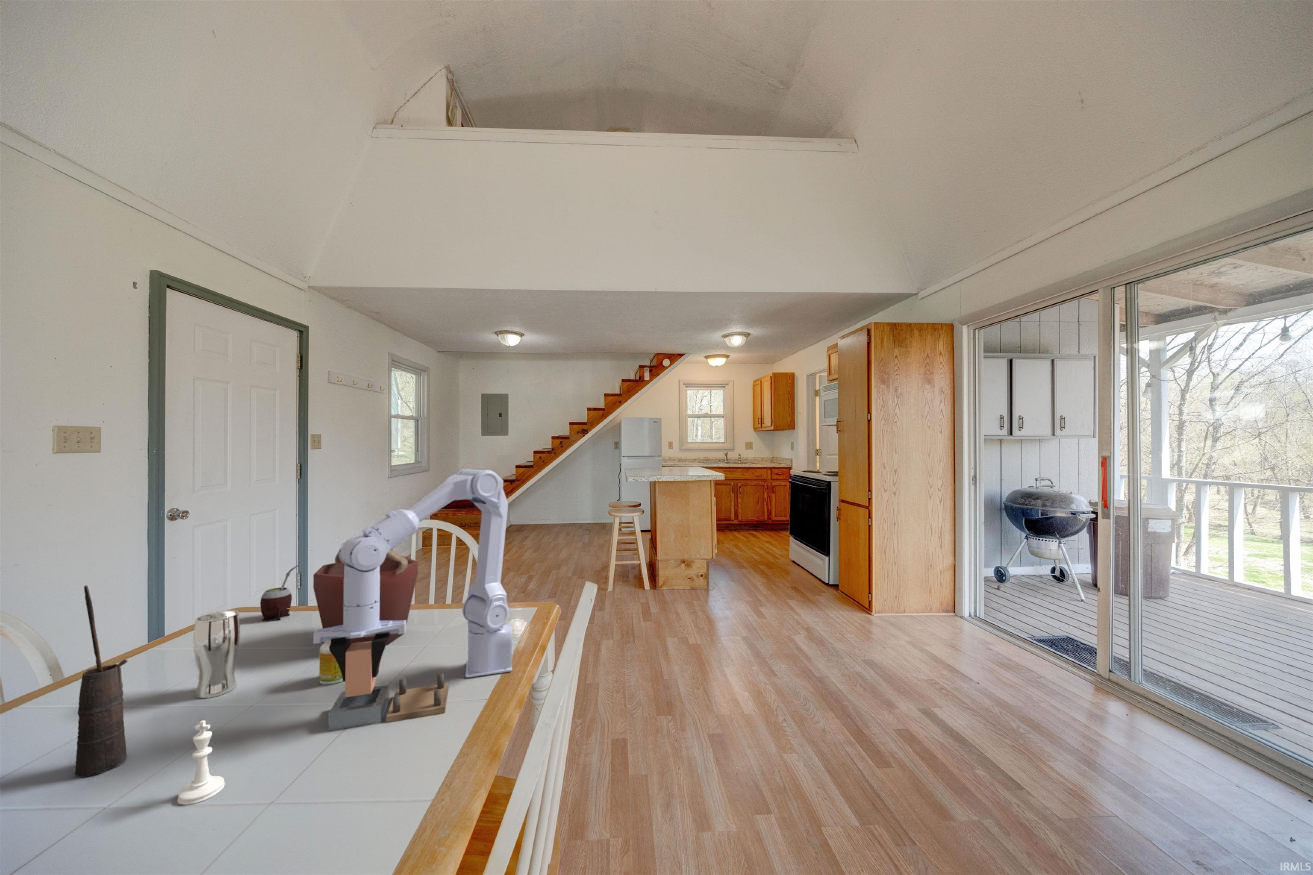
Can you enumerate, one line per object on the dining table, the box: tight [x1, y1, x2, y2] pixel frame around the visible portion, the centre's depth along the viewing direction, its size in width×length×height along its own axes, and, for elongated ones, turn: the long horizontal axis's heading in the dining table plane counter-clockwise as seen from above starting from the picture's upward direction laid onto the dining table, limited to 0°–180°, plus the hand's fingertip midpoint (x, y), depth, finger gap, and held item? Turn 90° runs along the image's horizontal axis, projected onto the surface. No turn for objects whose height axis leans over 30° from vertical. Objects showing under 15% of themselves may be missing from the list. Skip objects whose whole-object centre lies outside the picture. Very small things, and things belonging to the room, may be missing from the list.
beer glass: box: [192, 609, 241, 699], centre depth 99 cm, size 7×7×15 cm
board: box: [385, 673, 450, 723], centre depth 93 cm, size 10×10×4 cm
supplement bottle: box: [318, 641, 344, 685], centre depth 104 cm, size 5×5×10 cm
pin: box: [344, 641, 377, 697], centre depth 90 cm, size 4×4×8 cm
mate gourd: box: [259, 564, 300, 622], centre depth 140 cm, size 8×8×15 cm
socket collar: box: [328, 684, 391, 732], centre depth 90 cm, size 8×8×3 cm
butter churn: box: [74, 584, 128, 778], centre depth 77 cm, size 9×10×28 cm
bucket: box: [312, 548, 419, 646], centre depth 125 cm, size 24×22×25 cm
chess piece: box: [177, 719, 226, 806], centre depth 70 cm, size 5×5×10 cm
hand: (360, 676), depth 90 cm, fingers closed on pin, 4 cm apart
